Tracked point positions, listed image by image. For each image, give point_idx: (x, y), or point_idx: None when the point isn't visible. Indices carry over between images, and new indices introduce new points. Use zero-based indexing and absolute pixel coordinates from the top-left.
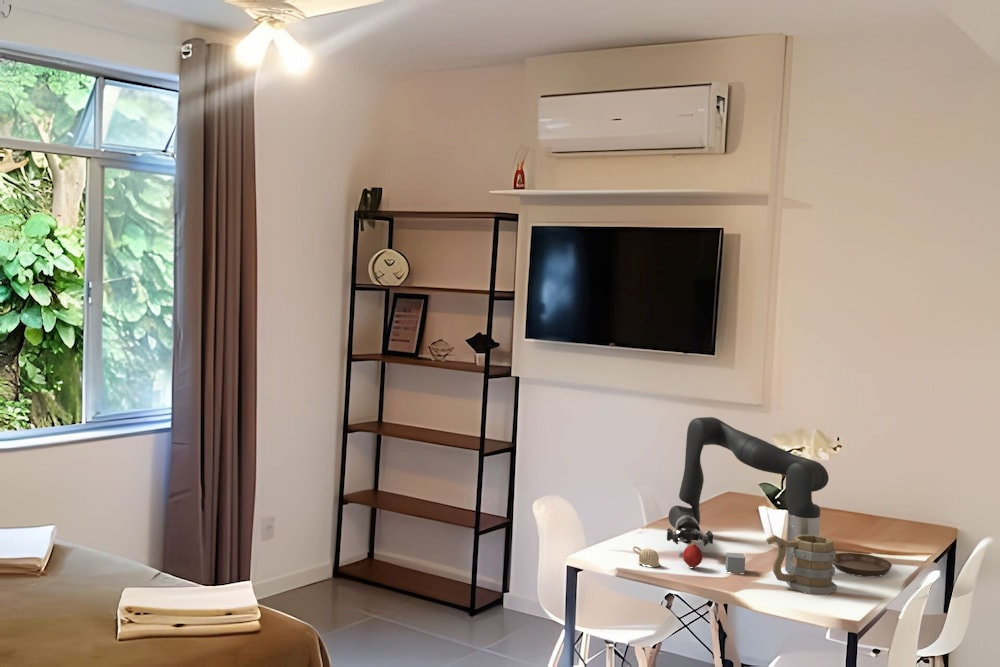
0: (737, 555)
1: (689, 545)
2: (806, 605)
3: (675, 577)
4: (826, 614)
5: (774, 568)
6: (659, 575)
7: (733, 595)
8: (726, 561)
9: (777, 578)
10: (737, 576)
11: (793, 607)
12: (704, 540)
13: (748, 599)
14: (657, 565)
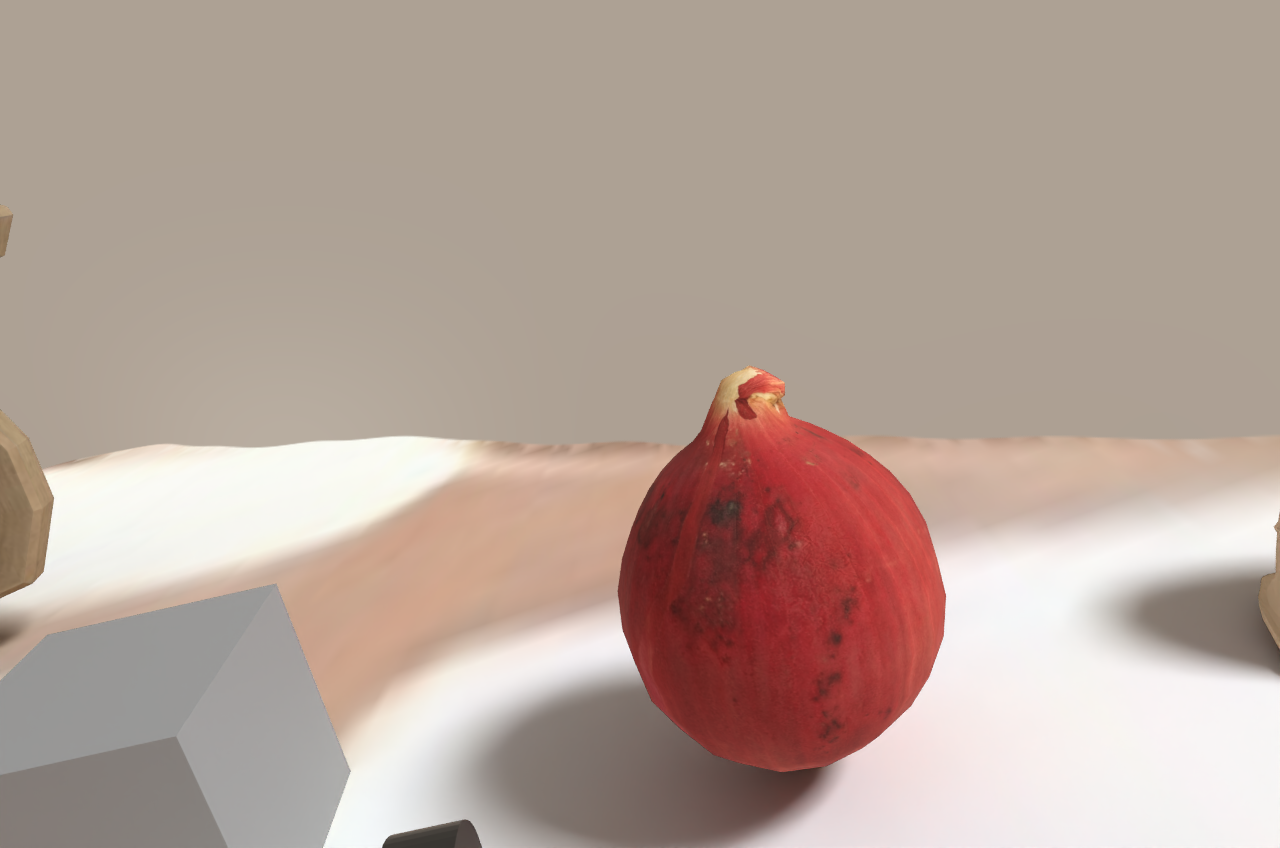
0: (79, 679)
1: (812, 431)
2: (119, 498)
3: (910, 489)
4: (107, 467)
5: (39, 470)
6: (1073, 468)
7: (479, 445)
8: (262, 772)
9: (44, 555)
10: None
11: (214, 462)
12: (469, 829)
13: (409, 443)
14: (1274, 577)
